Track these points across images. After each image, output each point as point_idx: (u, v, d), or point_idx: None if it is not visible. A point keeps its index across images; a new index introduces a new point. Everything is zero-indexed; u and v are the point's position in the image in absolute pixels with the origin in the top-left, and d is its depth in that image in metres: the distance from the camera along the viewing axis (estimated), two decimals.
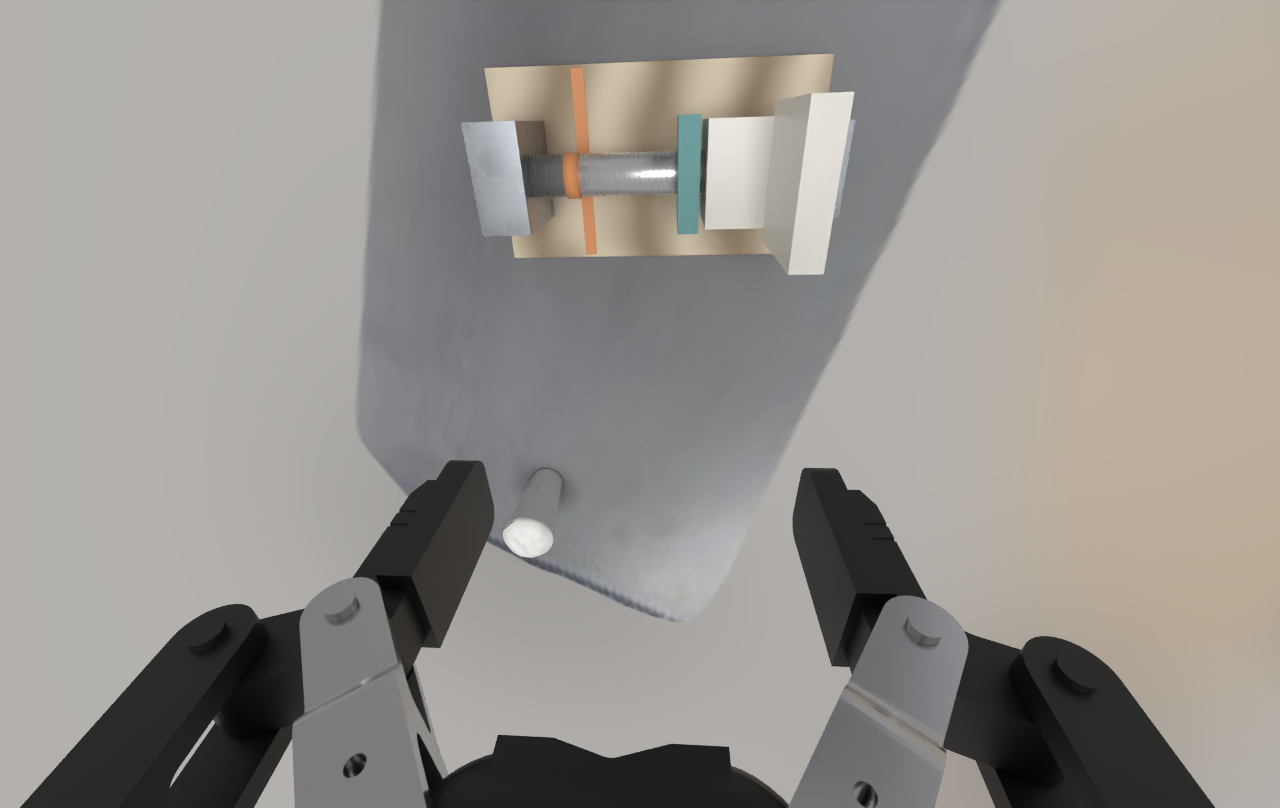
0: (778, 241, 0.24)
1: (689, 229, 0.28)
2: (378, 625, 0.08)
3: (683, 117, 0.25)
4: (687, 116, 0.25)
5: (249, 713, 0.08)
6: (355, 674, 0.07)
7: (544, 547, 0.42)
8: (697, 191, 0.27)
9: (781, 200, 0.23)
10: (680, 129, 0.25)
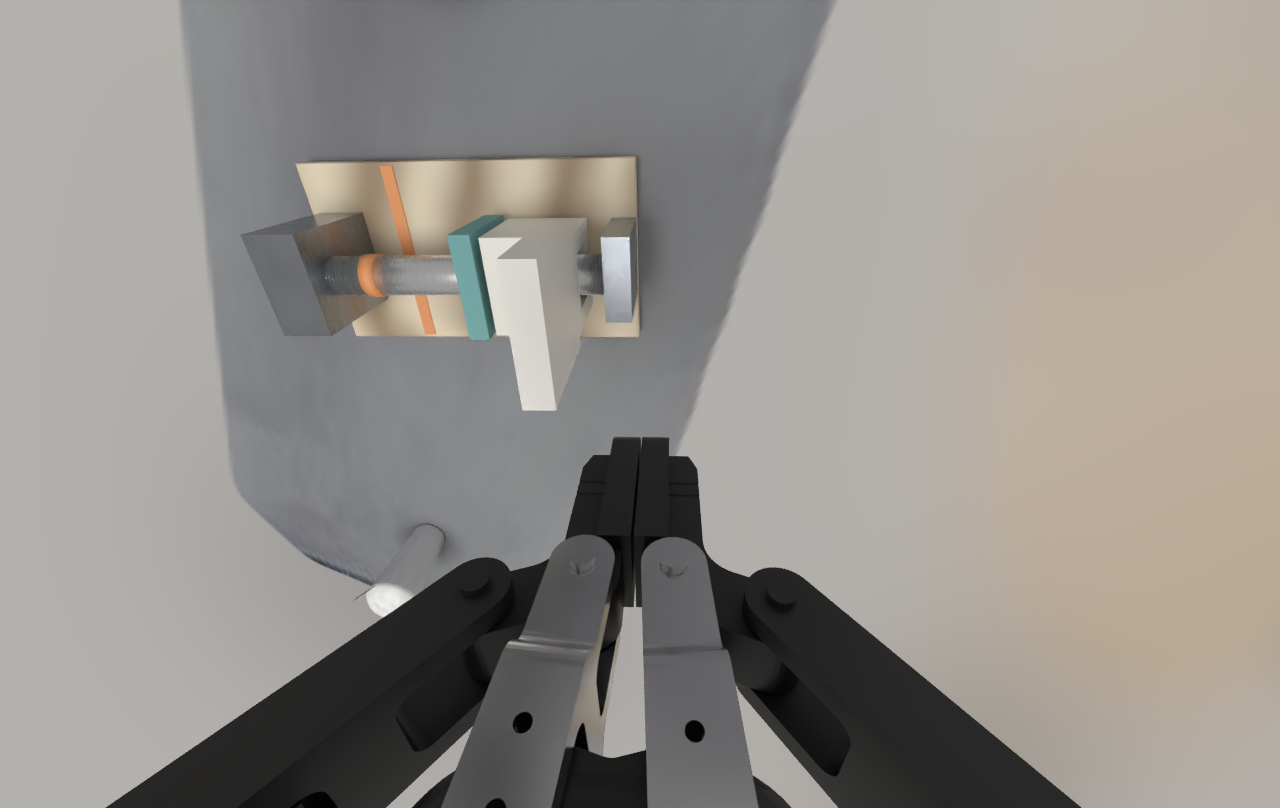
0: None
1: (480, 335, 0.28)
2: (598, 596, 0.08)
3: (451, 237, 0.25)
4: (455, 236, 0.25)
5: (478, 664, 0.08)
6: (564, 629, 0.08)
7: None
8: (480, 302, 0.27)
9: None
10: (451, 247, 0.25)
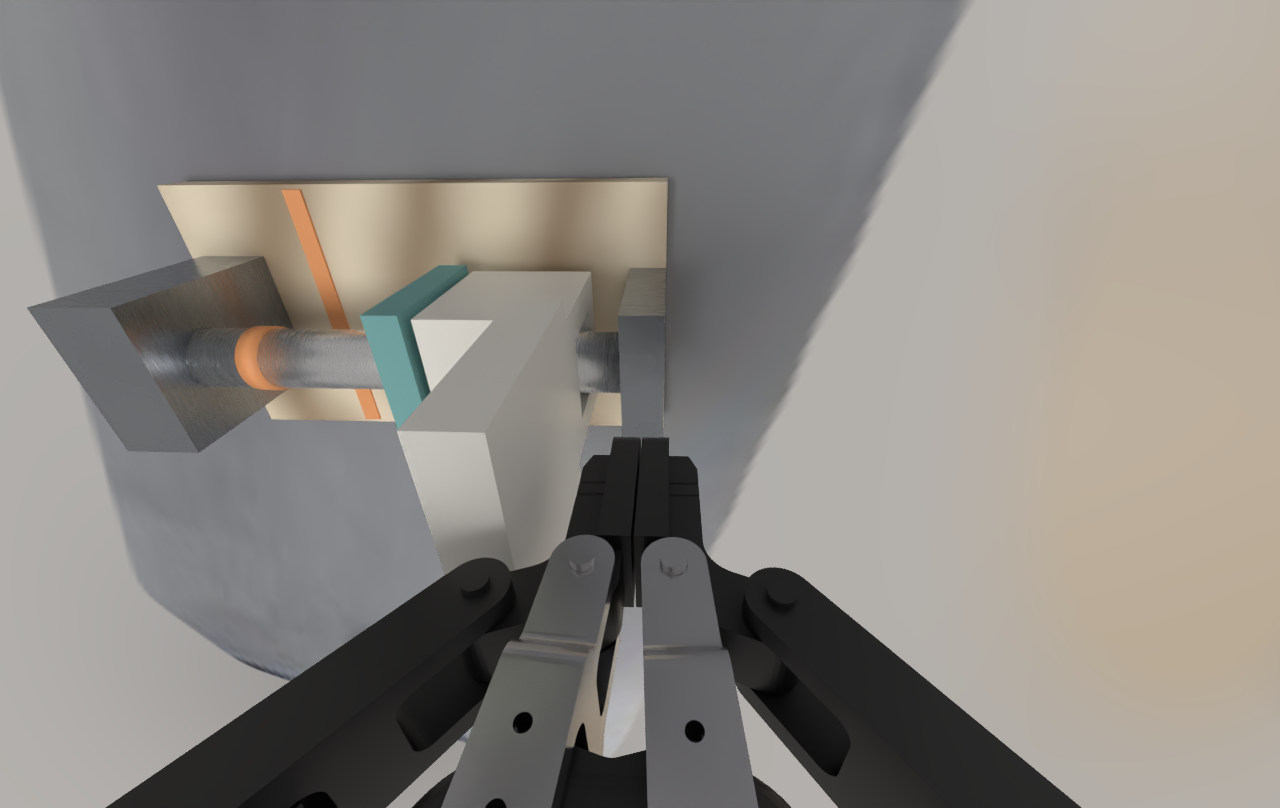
0: None
1: None
2: (598, 596, 0.08)
3: (368, 319, 0.15)
4: (374, 318, 0.15)
5: (478, 664, 0.08)
6: (564, 629, 0.08)
7: None
8: None
9: None
10: (369, 335, 0.15)
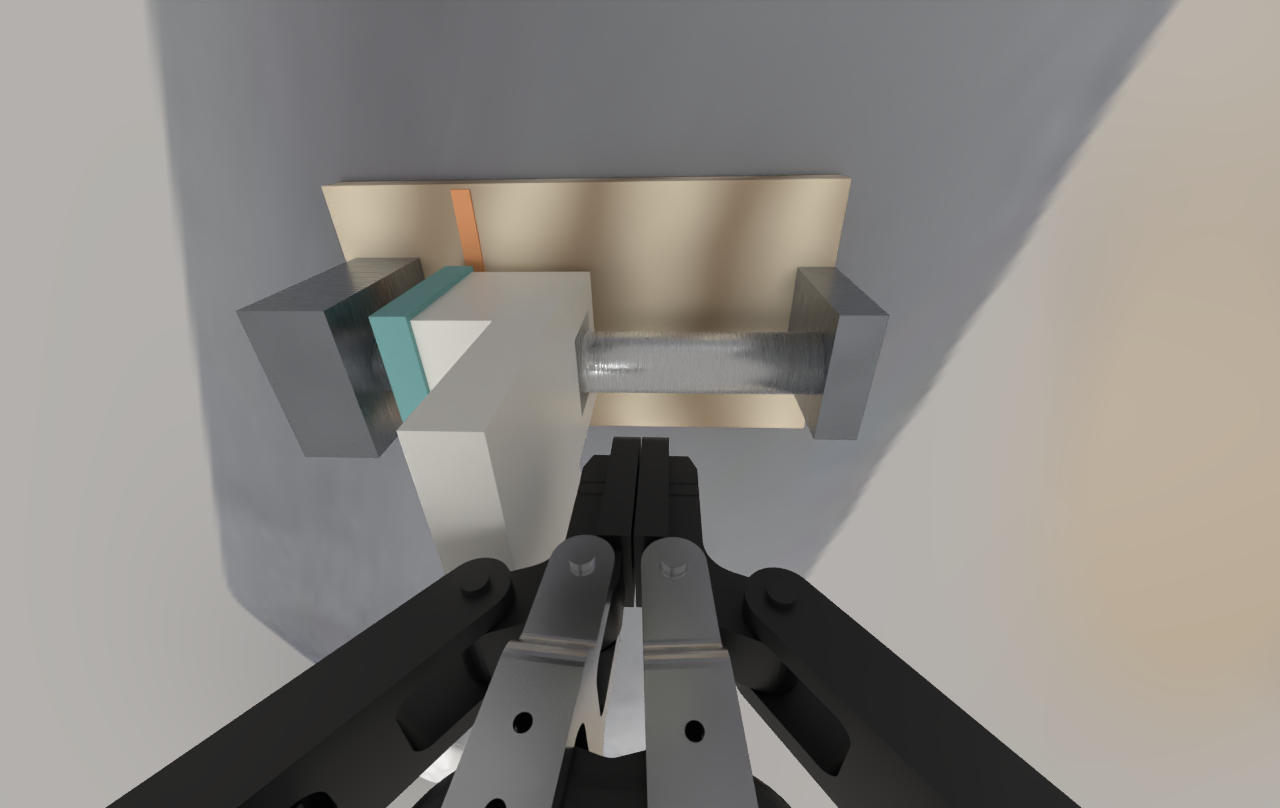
0: None
1: None
2: (598, 596, 0.08)
3: (377, 320, 0.15)
4: (383, 319, 0.15)
5: (478, 664, 0.08)
6: (564, 629, 0.08)
7: None
8: None
9: None
10: (377, 336, 0.15)
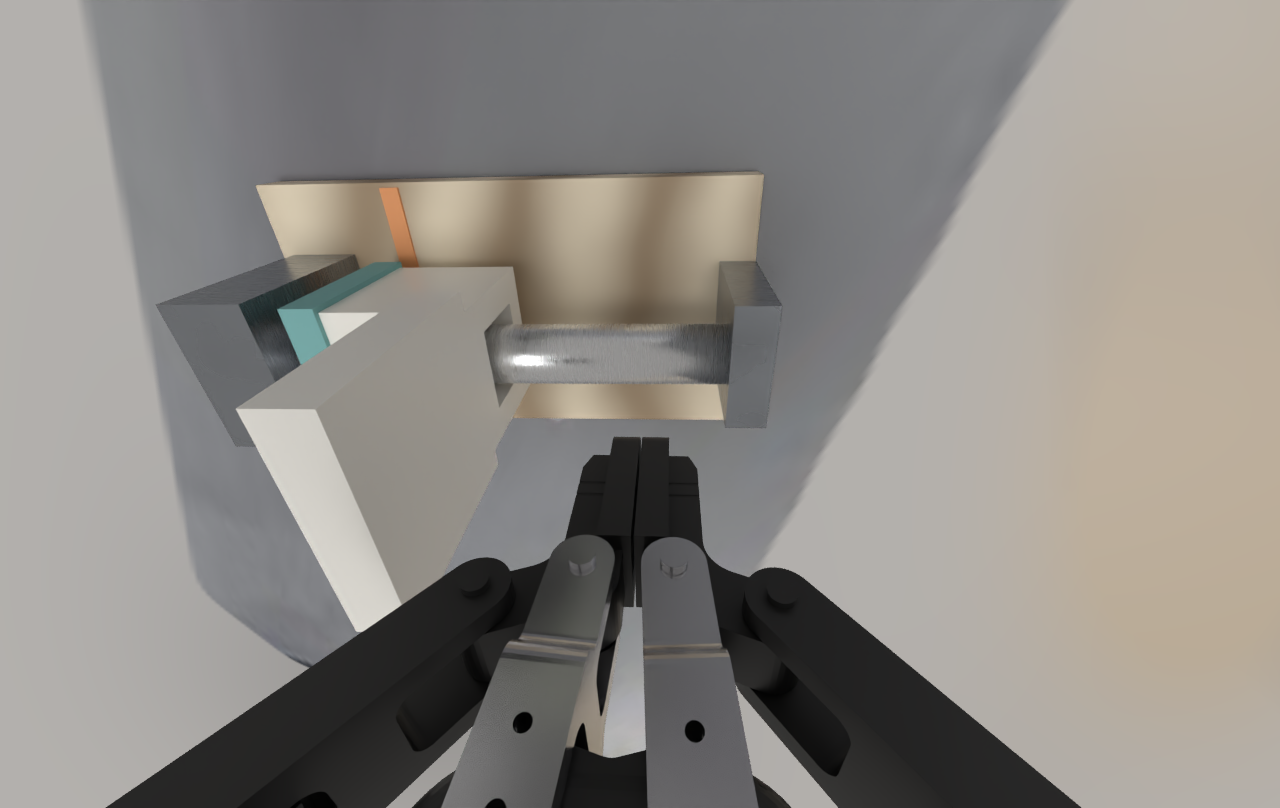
0: None
1: None
2: (598, 596, 0.08)
3: (286, 312, 0.16)
4: (291, 311, 0.16)
5: (478, 664, 0.08)
6: (564, 629, 0.08)
7: None
8: None
9: None
10: (287, 328, 0.16)
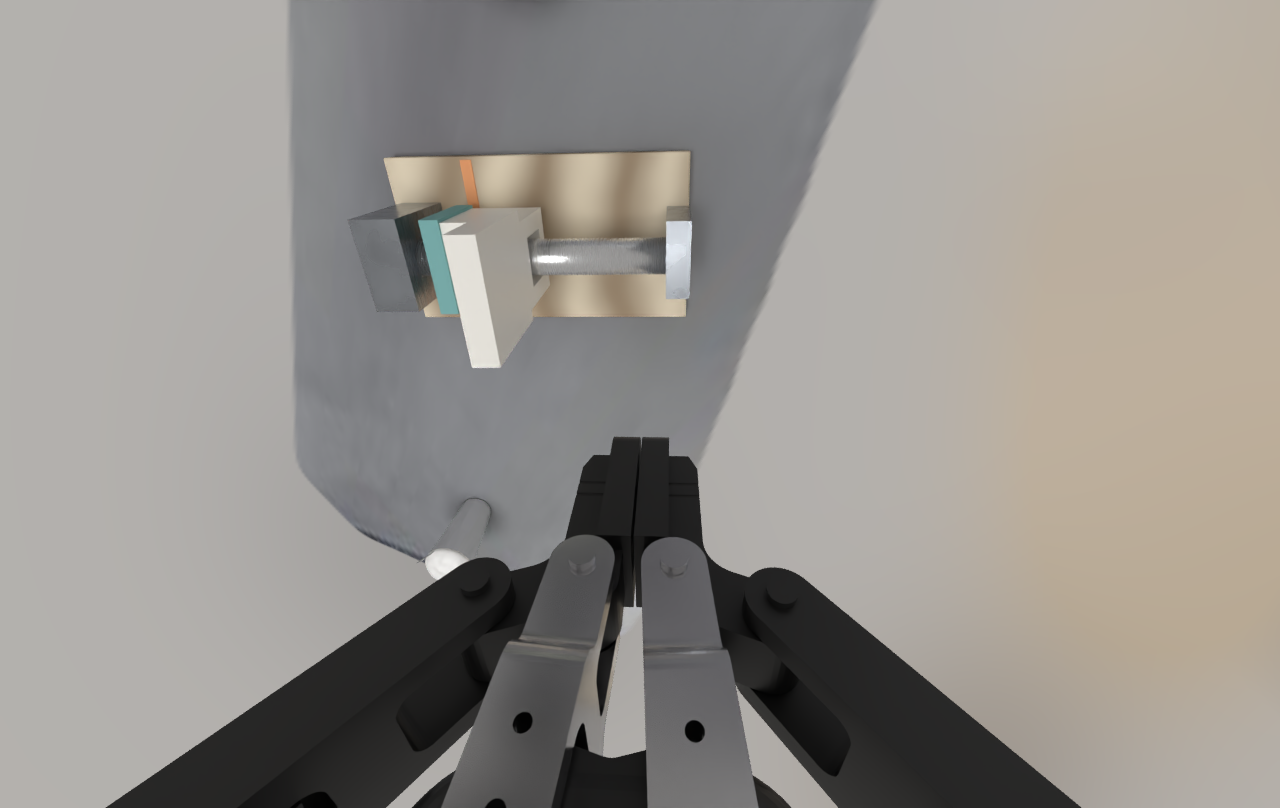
0: None
1: (450, 310, 0.32)
2: (598, 596, 0.08)
3: (422, 222, 0.29)
4: (425, 221, 0.29)
5: (478, 664, 0.08)
6: (564, 629, 0.08)
7: None
8: (449, 280, 0.31)
9: None
10: (422, 231, 0.29)
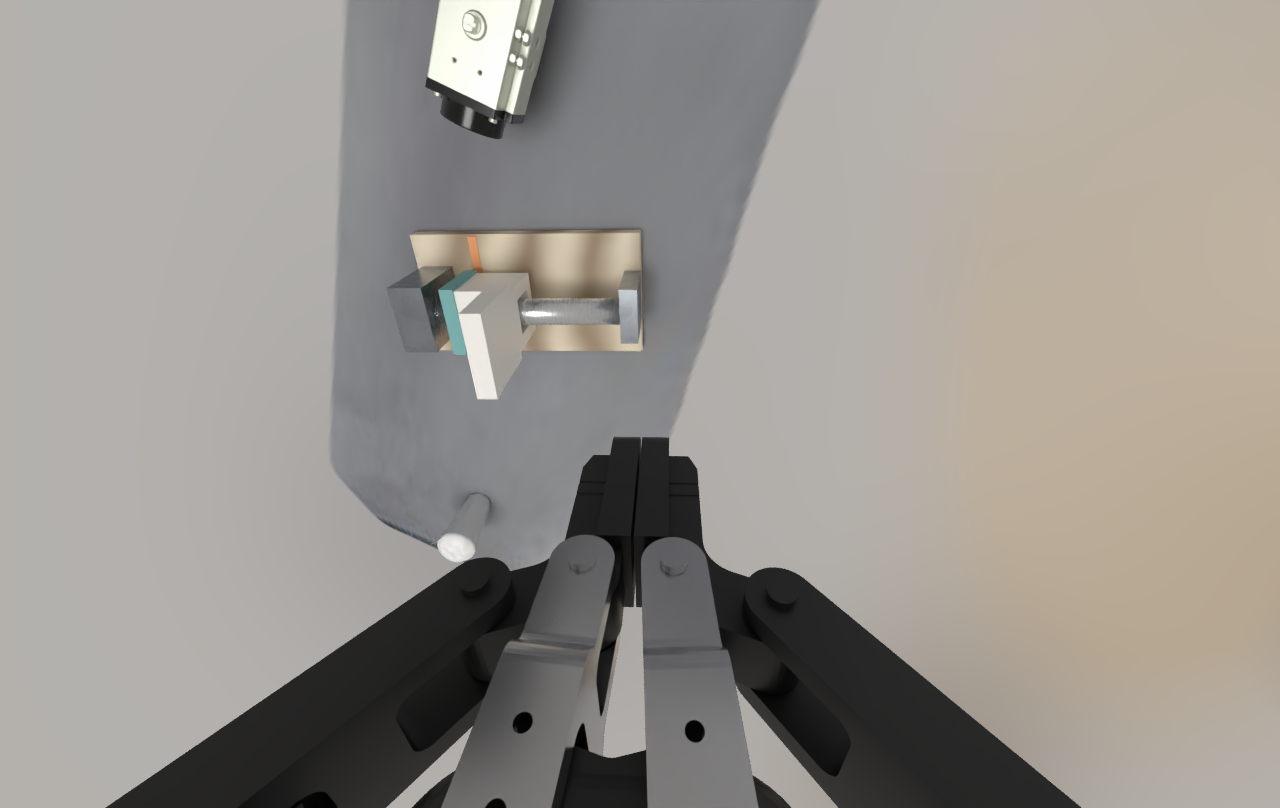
0: None
1: (460, 352, 0.43)
2: (598, 596, 0.08)
3: (441, 291, 0.40)
4: (443, 290, 0.40)
5: (478, 664, 0.08)
6: (564, 629, 0.08)
7: (467, 554, 0.57)
8: (460, 331, 0.42)
9: None
10: (441, 297, 0.40)
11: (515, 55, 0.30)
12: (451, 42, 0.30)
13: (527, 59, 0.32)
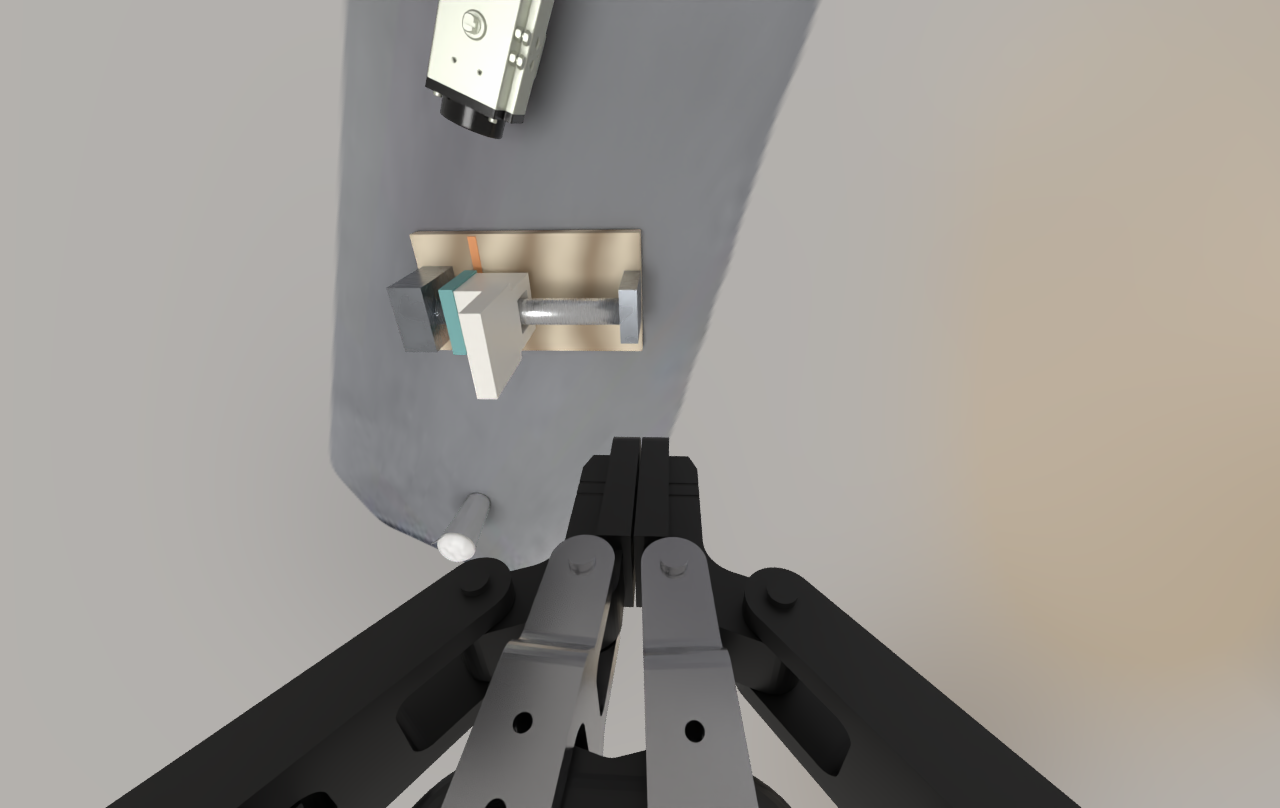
0: None
1: (460, 352, 0.43)
2: (598, 596, 0.08)
3: (441, 291, 0.40)
4: (443, 290, 0.40)
5: (477, 664, 0.08)
6: (564, 629, 0.08)
7: (467, 554, 0.57)
8: (460, 331, 0.42)
9: None
10: (440, 297, 0.40)
11: (515, 55, 0.30)
12: (451, 42, 0.30)
13: (527, 59, 0.32)
